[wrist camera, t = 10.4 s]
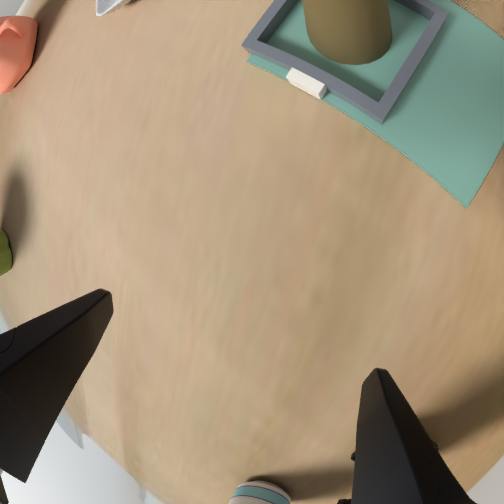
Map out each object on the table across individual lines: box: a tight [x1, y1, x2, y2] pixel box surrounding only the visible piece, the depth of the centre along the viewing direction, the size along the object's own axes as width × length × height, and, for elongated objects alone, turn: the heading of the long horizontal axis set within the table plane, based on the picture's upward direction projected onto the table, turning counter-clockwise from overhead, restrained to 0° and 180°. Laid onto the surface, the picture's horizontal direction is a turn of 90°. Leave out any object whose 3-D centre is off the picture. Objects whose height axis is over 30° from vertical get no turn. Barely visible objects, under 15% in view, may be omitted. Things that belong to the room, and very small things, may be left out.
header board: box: [242, 0, 504, 208], centre depth 13 cm, size 18×14×2 cm
